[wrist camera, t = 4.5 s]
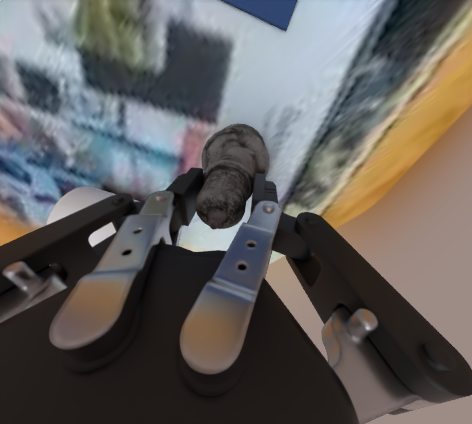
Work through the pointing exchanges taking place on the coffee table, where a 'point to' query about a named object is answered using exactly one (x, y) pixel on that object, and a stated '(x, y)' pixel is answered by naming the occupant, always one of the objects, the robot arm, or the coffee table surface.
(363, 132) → the coffee table surface
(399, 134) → the coffee table surface
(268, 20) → the blue notebook
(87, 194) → the mug
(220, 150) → the dark grey turned piece
